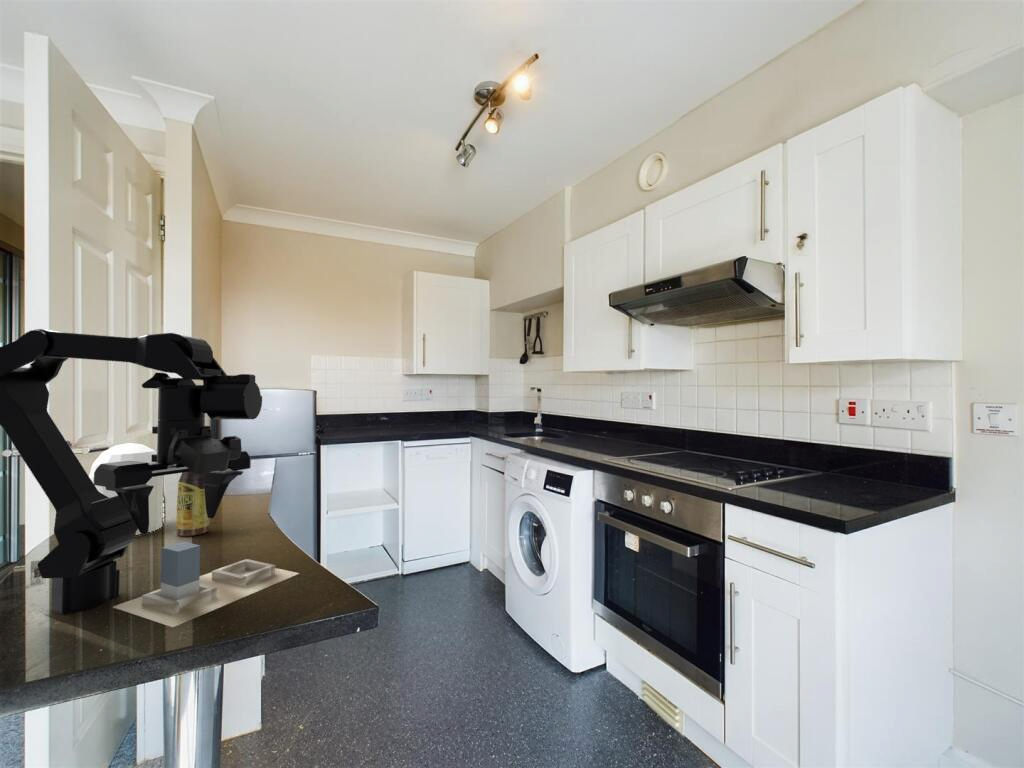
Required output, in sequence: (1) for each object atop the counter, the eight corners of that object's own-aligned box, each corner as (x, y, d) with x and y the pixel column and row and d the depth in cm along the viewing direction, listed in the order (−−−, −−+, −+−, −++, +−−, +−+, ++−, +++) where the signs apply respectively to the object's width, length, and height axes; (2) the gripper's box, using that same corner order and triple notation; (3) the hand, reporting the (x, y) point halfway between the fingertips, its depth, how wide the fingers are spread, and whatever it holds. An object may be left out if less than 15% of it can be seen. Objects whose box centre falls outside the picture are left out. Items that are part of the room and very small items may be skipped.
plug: (177, 608, 65) (178, 551, 66) (160, 603, 67) (161, 547, 67) (199, 600, 68) (200, 545, 68) (182, 595, 70) (183, 541, 70)
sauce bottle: (170, 535, 103) (171, 445, 103) (199, 527, 109) (201, 442, 109) (186, 539, 100) (188, 447, 100) (216, 531, 105) (217, 444, 106)
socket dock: (172, 634, 60) (173, 615, 60) (112, 613, 66) (112, 596, 66) (299, 579, 79) (299, 564, 79) (243, 566, 84) (243, 552, 84)
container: (100, 526, 109) (102, 441, 110) (169, 520, 115) (171, 439, 116) (75, 543, 97) (78, 447, 98) (154, 535, 103) (156, 444, 103)
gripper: (141, 424, 57) (138, 552, 57) (275, 418, 74) (273, 516, 74) (93, 422, 62) (89, 540, 61) (229, 416, 79) (227, 509, 78)
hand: (179, 525), depth 68 cm, fingers open, 9 cm apart
